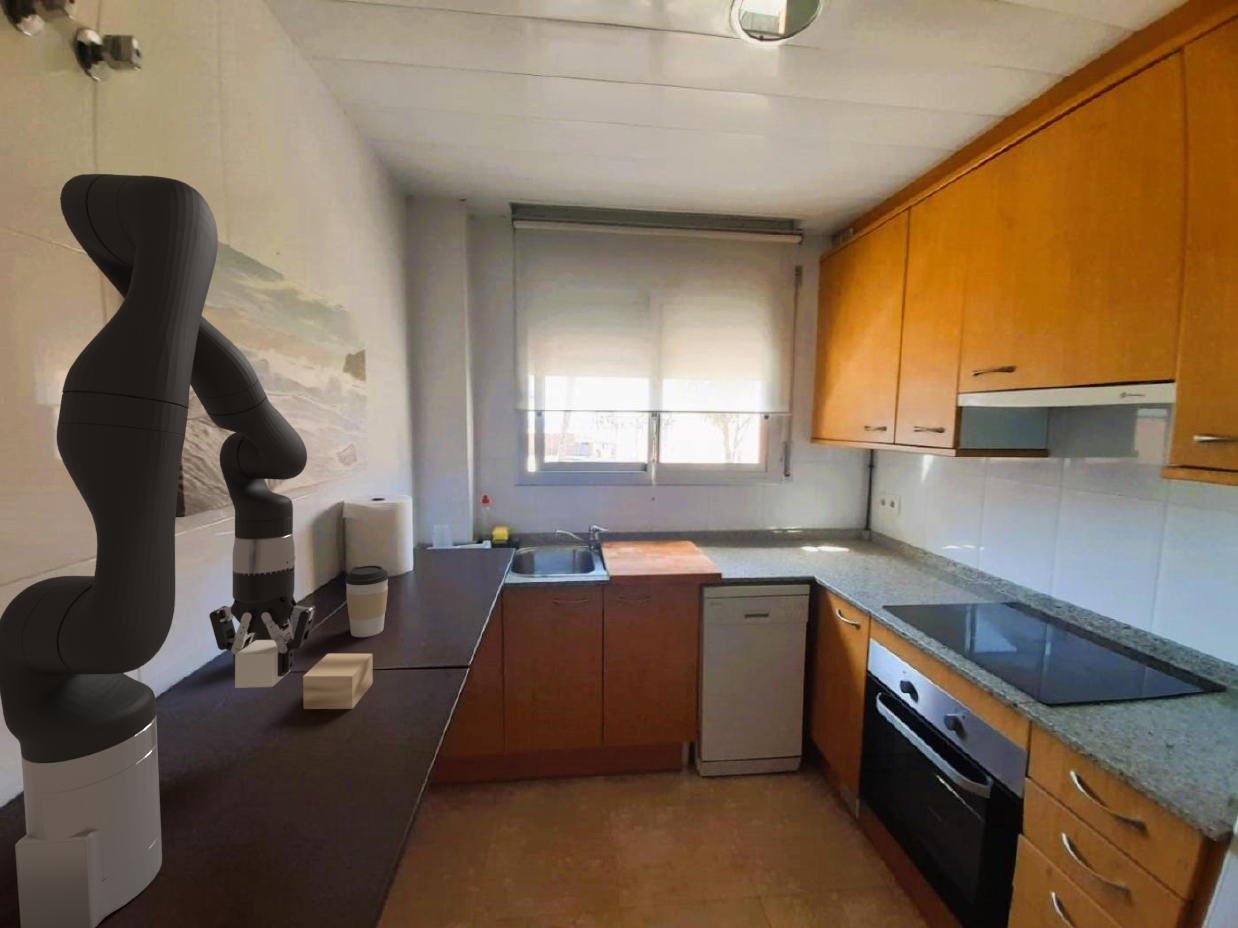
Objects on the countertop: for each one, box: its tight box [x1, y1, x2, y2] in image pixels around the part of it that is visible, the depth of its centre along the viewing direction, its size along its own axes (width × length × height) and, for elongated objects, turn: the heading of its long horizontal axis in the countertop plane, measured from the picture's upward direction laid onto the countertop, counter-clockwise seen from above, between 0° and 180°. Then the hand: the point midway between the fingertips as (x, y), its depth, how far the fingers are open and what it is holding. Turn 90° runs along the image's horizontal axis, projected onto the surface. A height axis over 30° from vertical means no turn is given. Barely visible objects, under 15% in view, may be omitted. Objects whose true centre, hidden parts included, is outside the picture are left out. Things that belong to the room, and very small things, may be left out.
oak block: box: [302, 653, 374, 710], centre depth 86 cm, size 8×8×6 cm
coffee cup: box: [344, 564, 390, 638], centre depth 111 cm, size 9×9×15 cm
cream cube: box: [234, 640, 292, 689], centre depth 73 cm, size 5×5×5 cm
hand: (264, 673), depth 73 cm, fingers closed on cream cube, 5 cm apart
